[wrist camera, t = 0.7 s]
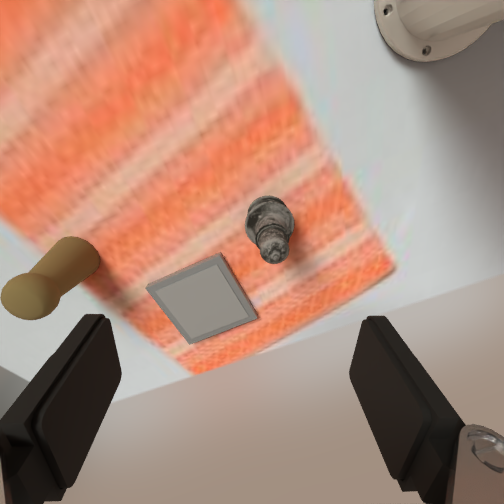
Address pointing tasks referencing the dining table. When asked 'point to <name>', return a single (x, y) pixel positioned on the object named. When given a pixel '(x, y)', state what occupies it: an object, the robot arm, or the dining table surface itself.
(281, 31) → the dining table surface
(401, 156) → the dining table surface
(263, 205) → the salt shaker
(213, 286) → the coaster
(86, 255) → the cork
